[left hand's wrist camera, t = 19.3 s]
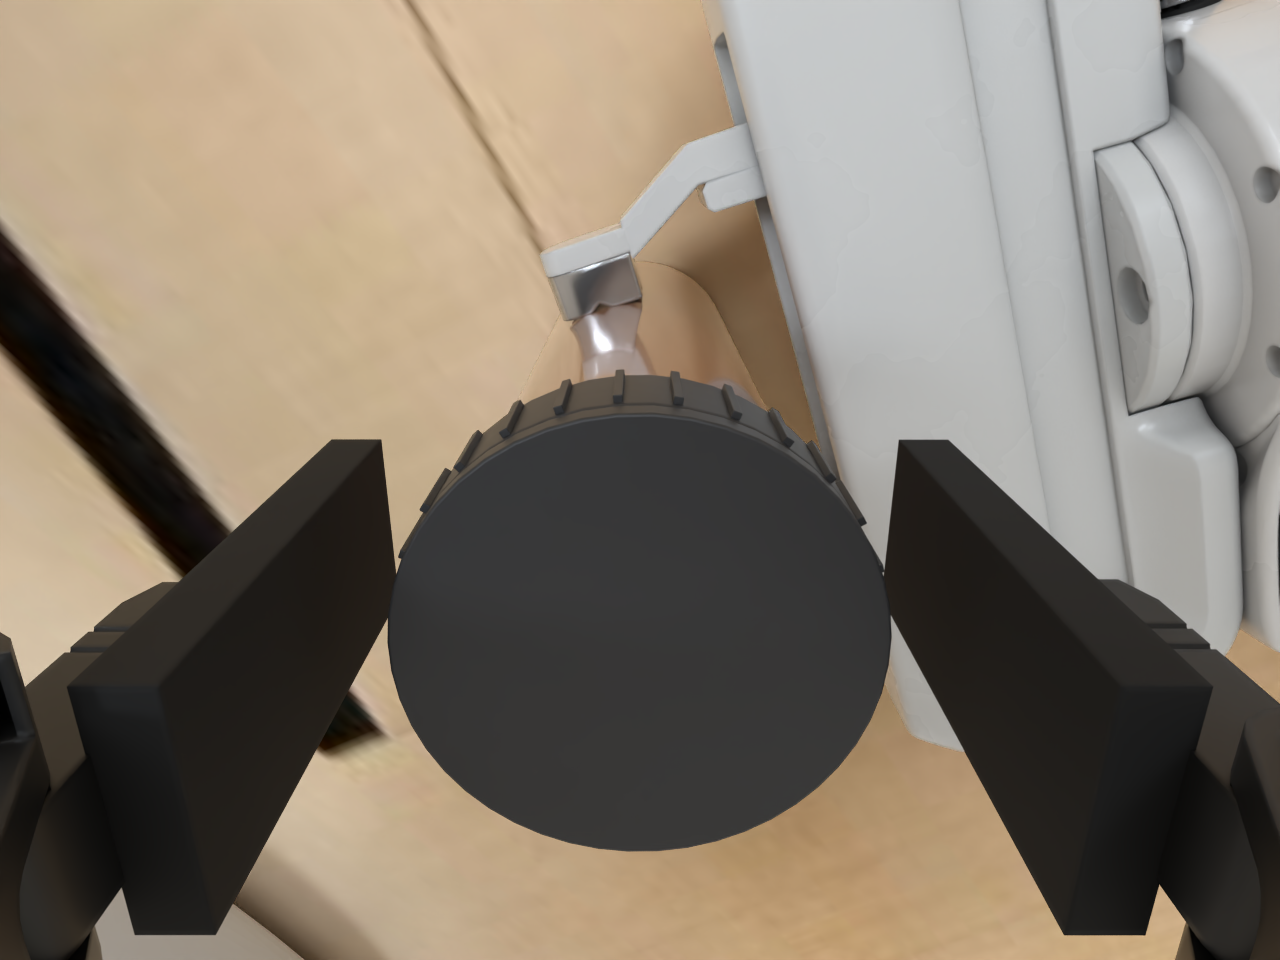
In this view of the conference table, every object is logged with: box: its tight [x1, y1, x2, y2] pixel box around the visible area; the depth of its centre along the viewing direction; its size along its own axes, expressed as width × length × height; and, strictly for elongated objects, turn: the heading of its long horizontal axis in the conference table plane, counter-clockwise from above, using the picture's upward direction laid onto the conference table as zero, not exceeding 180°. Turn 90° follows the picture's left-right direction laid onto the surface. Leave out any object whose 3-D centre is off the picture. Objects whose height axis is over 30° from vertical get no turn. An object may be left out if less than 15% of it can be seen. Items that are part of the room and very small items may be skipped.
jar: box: [517, 262, 768, 412], centre depth 18 cm, size 5×5×16 cm
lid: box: [388, 369, 892, 851], centre depth 11 cm, size 6×6×2 cm
